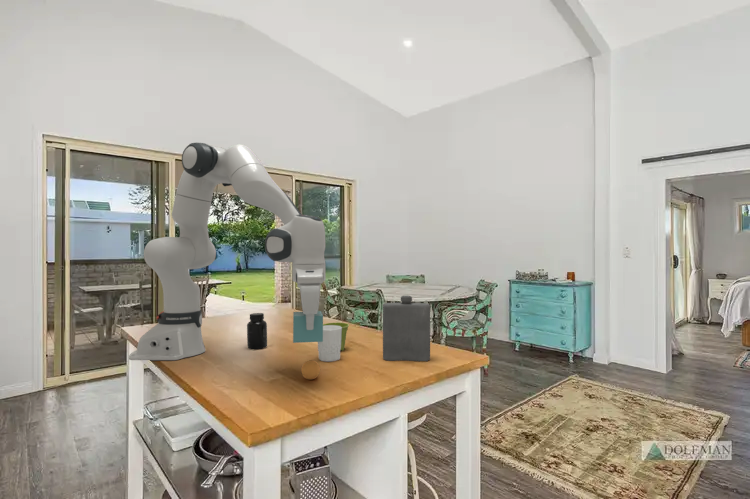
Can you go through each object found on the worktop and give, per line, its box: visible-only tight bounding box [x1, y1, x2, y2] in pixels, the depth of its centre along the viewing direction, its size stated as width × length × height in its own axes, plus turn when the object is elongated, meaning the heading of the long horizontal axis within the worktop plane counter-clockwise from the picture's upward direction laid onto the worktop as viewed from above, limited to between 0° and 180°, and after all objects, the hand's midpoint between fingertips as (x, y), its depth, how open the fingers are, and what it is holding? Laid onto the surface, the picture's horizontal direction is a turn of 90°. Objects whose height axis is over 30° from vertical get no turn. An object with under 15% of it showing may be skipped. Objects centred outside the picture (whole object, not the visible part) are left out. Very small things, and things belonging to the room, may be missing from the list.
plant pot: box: [323, 322, 350, 352], centre depth 139 cm, size 9×9×9 cm
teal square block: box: [292, 310, 324, 344], centre depth 108 cm, size 8×8×7 cm
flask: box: [382, 295, 431, 362], centre depth 128 cm, size 15×6×20 cm, turn 84°
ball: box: [300, 359, 321, 380], centre depth 108 cm, size 5×5×5 cm
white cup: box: [317, 325, 342, 362], centre depth 128 cm, size 8×8×10 cm
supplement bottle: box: [246, 312, 268, 351], centre depth 143 cm, size 7×7×12 cm
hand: (309, 326), depth 108 cm, fingers closed on teal square block, 8 cm apart
